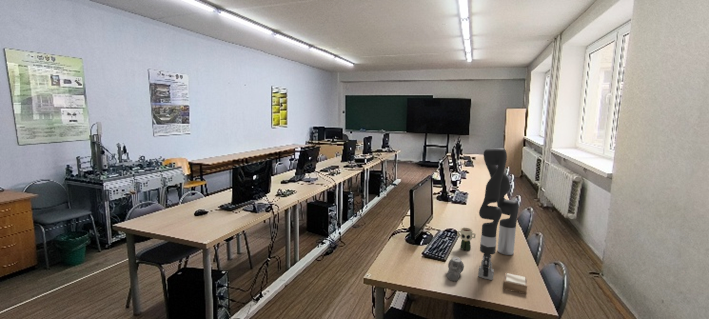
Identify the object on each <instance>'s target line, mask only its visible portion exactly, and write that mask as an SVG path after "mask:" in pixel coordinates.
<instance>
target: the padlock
mask: <svg viewBox="0 0 709 319" xmlns="http://www.w3.org/2000/svg"><path fill="white" fill-rule="evenodd" d="M480 263H481V264H480V266H479V267H478V272H477V273H478V274H477V276H478V278H482V279H485V280H490V281H493V280H494V275H495V274H494V272H495V269H494V268H493V263H492V261H490V266H489V270H488V277H485V276H483V272H484V270H483V259H482V260H481V262H480ZM486 268H487V267H486Z"/></svg>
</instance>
